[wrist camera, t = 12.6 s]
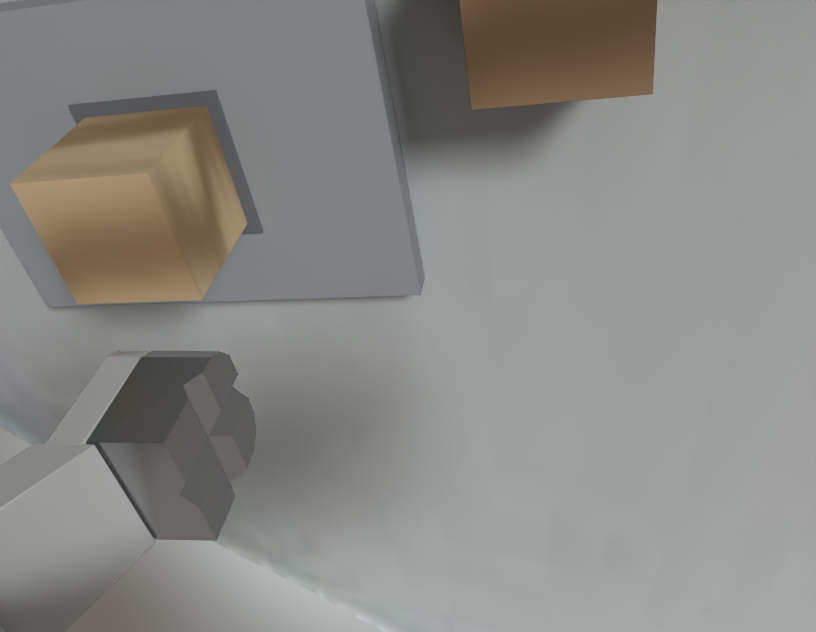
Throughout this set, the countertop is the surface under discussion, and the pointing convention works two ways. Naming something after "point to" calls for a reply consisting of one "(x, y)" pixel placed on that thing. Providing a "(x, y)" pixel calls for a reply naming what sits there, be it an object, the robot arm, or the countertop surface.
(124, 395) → the robot arm
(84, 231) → the maple block
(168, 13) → the board
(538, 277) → the countertop surface
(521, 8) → the walnut block
